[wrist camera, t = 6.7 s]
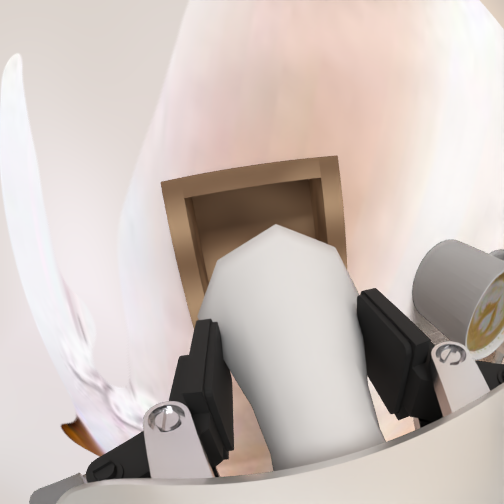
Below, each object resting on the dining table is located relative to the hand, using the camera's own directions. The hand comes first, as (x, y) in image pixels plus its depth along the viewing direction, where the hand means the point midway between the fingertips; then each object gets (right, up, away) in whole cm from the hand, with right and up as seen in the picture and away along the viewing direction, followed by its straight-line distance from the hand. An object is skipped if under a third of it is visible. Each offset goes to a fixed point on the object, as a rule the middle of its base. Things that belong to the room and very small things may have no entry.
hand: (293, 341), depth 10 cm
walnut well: (-1, +4, +16) cm, 16 cm away
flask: (0, +1, +3) cm, 3 cm away
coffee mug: (+23, +1, +18) cm, 29 cm away
